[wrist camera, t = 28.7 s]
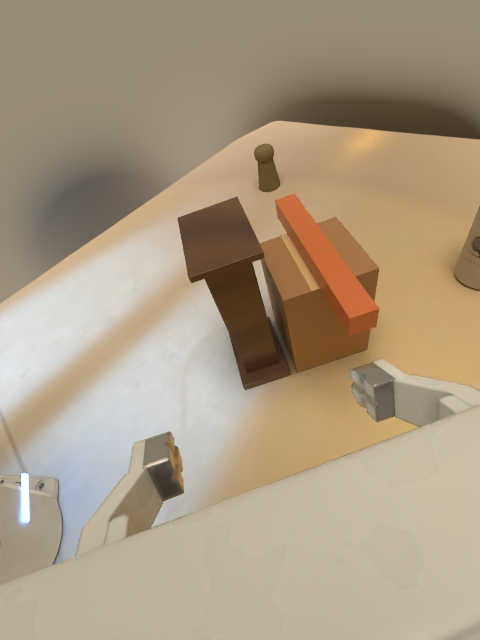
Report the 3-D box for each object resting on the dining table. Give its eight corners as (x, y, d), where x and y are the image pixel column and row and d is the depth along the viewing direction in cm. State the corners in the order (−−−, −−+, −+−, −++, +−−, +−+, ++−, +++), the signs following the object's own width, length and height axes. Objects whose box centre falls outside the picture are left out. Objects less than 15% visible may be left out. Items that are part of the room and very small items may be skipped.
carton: (367, 349, 50) (379, 267, 37) (297, 372, 51) (283, 300, 37) (335, 298, 58) (335, 216, 44) (275, 319, 59) (256, 243, 45)
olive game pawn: (263, 194, 87) (255, 154, 78) (256, 185, 91) (248, 146, 82) (283, 186, 87) (277, 145, 78) (275, 177, 91) (269, 138, 82)
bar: (376, 327, 32) (379, 308, 30) (348, 336, 32) (349, 318, 30) (296, 211, 47) (294, 193, 45) (277, 217, 48) (275, 200, 45)
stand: (291, 374, 51) (263, 252, 31) (245, 390, 51) (188, 278, 31) (270, 321, 59) (237, 196, 39) (230, 335, 59) (177, 217, 39)
